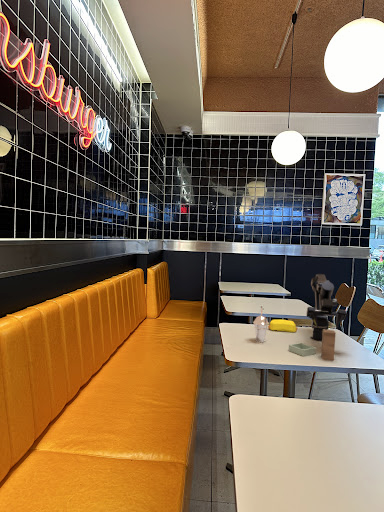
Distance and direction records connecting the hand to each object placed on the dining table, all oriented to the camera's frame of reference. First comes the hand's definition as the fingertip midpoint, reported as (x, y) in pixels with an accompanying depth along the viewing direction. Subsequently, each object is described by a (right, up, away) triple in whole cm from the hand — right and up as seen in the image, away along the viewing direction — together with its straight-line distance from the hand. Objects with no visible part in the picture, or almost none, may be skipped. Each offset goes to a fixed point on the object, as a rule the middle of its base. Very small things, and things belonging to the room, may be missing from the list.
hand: (327, 327), depth 170 cm
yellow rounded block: (-11, -11, +43) cm, 46 cm away
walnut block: (-2, -13, -6) cm, 15 cm away
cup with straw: (-30, -11, +17) cm, 36 cm away
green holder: (-12, -12, +1) cm, 17 cm away
